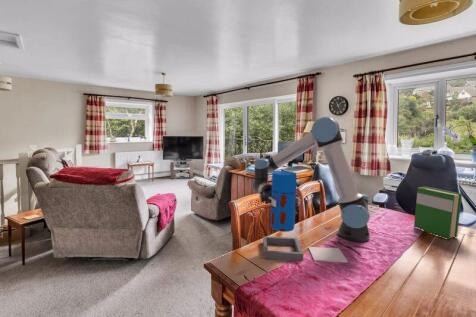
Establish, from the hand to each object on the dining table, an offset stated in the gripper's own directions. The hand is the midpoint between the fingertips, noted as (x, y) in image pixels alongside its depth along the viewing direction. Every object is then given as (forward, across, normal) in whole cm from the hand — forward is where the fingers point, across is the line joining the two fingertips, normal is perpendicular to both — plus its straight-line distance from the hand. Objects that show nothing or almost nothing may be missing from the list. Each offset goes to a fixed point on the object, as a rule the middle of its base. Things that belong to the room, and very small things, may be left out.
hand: (287, 202), depth 112 cm
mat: (+5, -18, -24) cm, 30 cm away
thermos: (-4, 0, -13) cm, 13 cm away
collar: (-4, 0, -24) cm, 24 cm away
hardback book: (-3, -92, -24) cm, 95 cm away
